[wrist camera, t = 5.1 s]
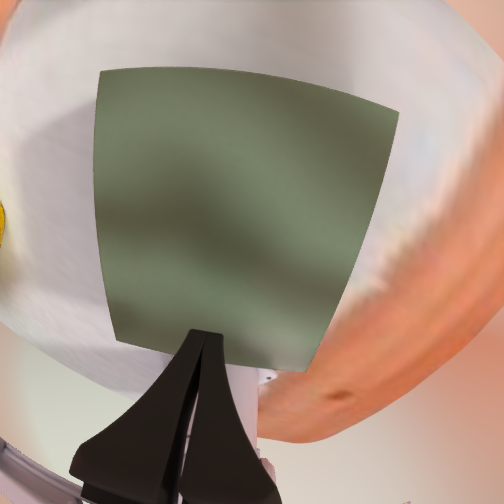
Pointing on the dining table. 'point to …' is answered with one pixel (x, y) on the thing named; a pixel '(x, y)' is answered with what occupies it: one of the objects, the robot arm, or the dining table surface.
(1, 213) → the element tile
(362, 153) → the sage green tile
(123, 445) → the robot arm
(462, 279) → the dining table surface
